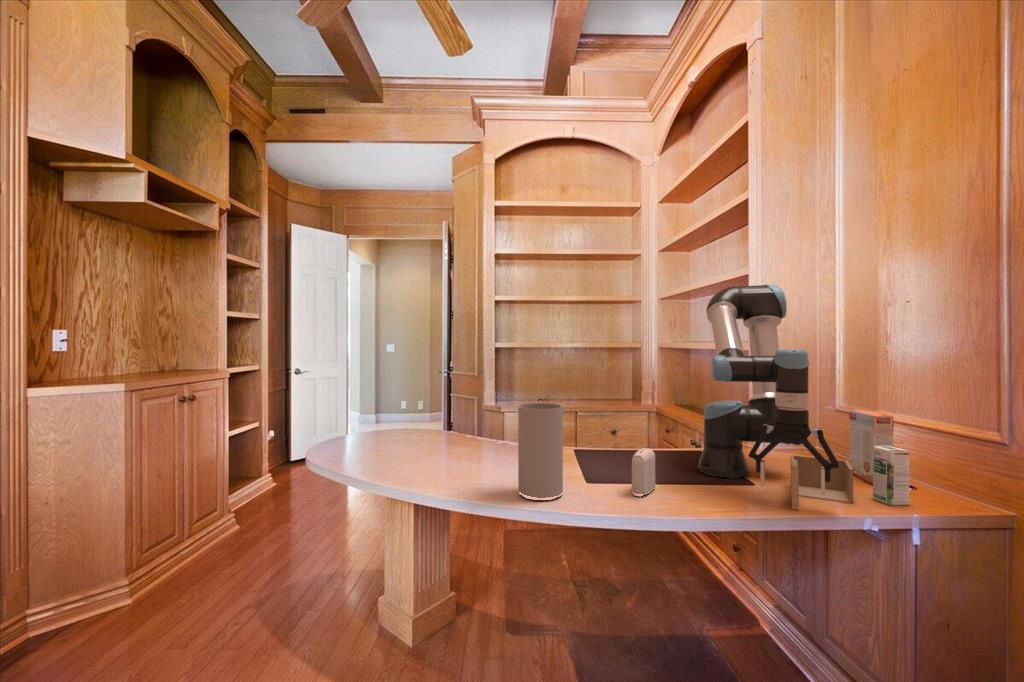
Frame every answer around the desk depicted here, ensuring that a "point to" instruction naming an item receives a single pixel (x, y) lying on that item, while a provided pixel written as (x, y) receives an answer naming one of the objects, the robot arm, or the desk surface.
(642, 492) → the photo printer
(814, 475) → the carton
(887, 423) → the cracker box
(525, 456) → the cylinder vase
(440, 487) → the desk surface
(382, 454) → the desk surface
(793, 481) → the flap
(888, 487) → the syrup box
